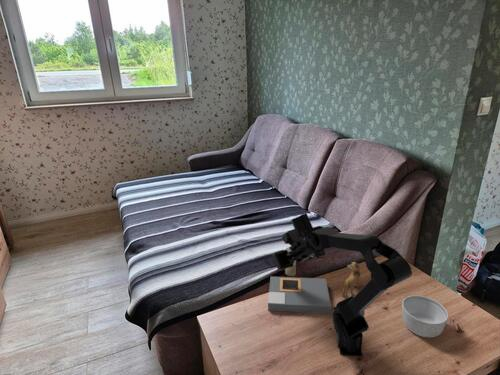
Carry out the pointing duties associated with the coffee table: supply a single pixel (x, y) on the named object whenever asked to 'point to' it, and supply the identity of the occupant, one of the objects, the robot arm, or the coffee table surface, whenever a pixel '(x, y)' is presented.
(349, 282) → the lion figurine
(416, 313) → the ramekin
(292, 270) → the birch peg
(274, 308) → the gray peg hole board
